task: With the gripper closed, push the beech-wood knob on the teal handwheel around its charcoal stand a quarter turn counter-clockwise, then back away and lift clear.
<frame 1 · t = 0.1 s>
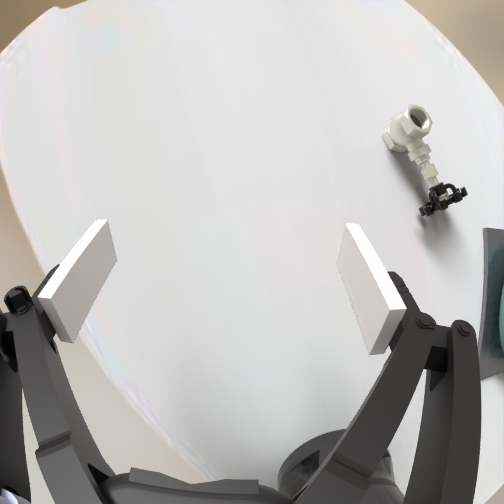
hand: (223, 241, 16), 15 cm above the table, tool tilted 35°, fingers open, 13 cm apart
valve: (408, 167, 32), on the table
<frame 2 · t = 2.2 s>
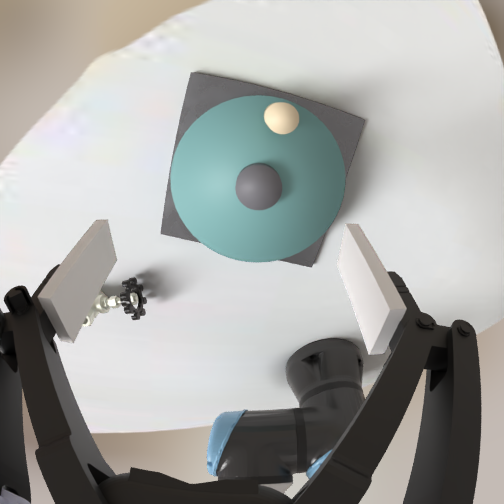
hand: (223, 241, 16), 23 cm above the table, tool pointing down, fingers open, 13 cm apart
valve: (113, 290, 46), on the table
wheel stand: (257, 174, 37), on the table
handwheel: (258, 188, 31), point 7 cm above the table, hinge at 0.0°
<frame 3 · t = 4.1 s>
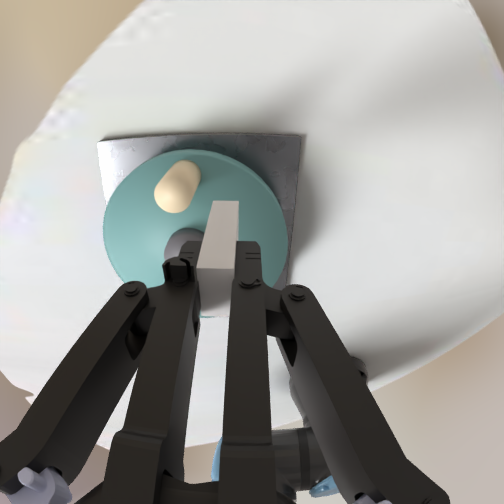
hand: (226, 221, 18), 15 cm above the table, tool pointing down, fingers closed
wheel stand: (197, 226, 35), on the table
handwheel: (188, 257, 29), point 7 cm above the table, hinge at 0.0°
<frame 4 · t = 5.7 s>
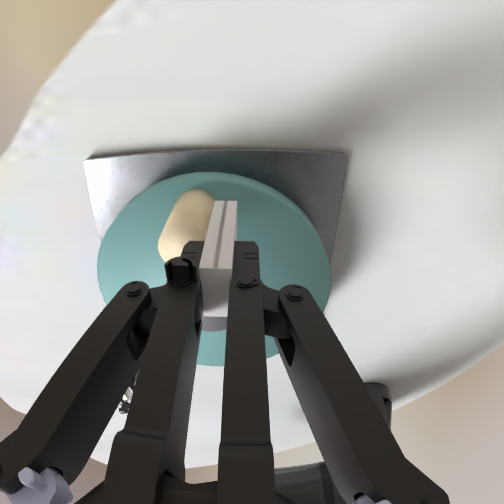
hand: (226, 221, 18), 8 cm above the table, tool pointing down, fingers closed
valve: (110, 381, 42), on the table
wheel stand: (214, 262, 29), on the table
handwheel: (208, 310, 23), point 6 cm above the table, hinge at 3.4°, touching gripper
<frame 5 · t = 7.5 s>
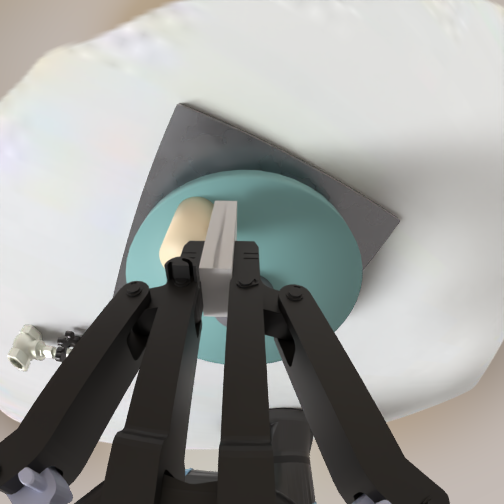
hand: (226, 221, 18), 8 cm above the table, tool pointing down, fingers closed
valve: (51, 333, 35), on the table
wheel stand: (243, 261, 29), on the table
handwheel: (244, 309, 23), point 7 cm above the table, hinge at 50.4°, touching gripper
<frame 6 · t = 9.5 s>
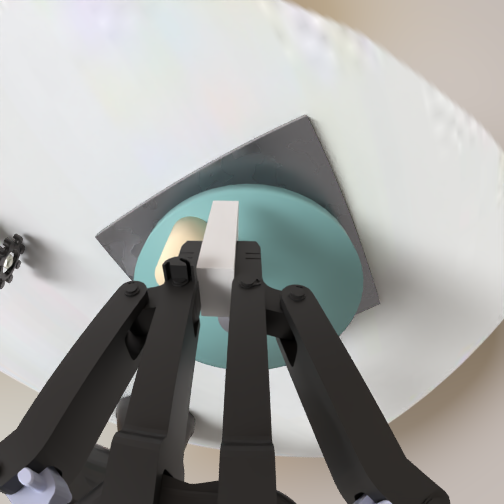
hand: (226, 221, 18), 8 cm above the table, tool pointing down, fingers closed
wheel stand: (248, 269, 29), on the table
handwheel: (248, 317, 24), point 7 cm above the table, hinge at 92.3°
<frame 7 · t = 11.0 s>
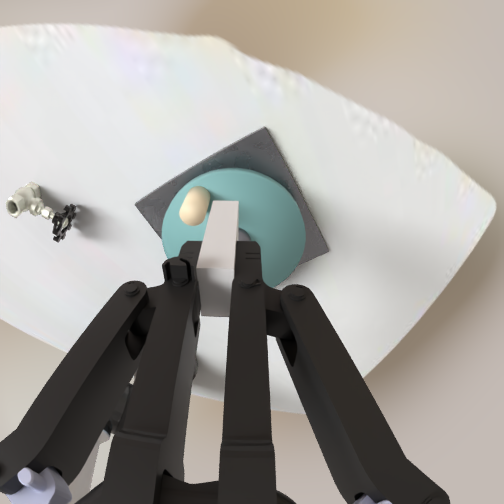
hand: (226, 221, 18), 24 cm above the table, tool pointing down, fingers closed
valve: (50, 199, 42), on the table
wheel stand: (234, 225, 45), on the table
handwheel: (232, 248, 40), point 6 cm above the table, hinge at 92.3°
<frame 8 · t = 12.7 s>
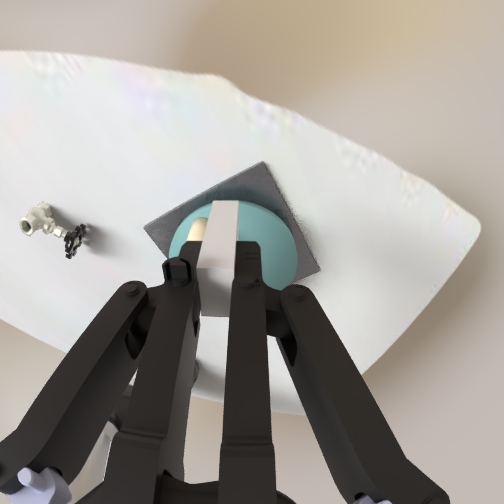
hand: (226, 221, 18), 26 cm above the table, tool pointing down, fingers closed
valve: (61, 218, 47), on the table
wheel stand: (234, 247, 50), on the table
handwheel: (232, 271, 45), point 7 cm above the table, hinge at 92.3°
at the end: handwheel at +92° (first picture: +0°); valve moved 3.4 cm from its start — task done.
